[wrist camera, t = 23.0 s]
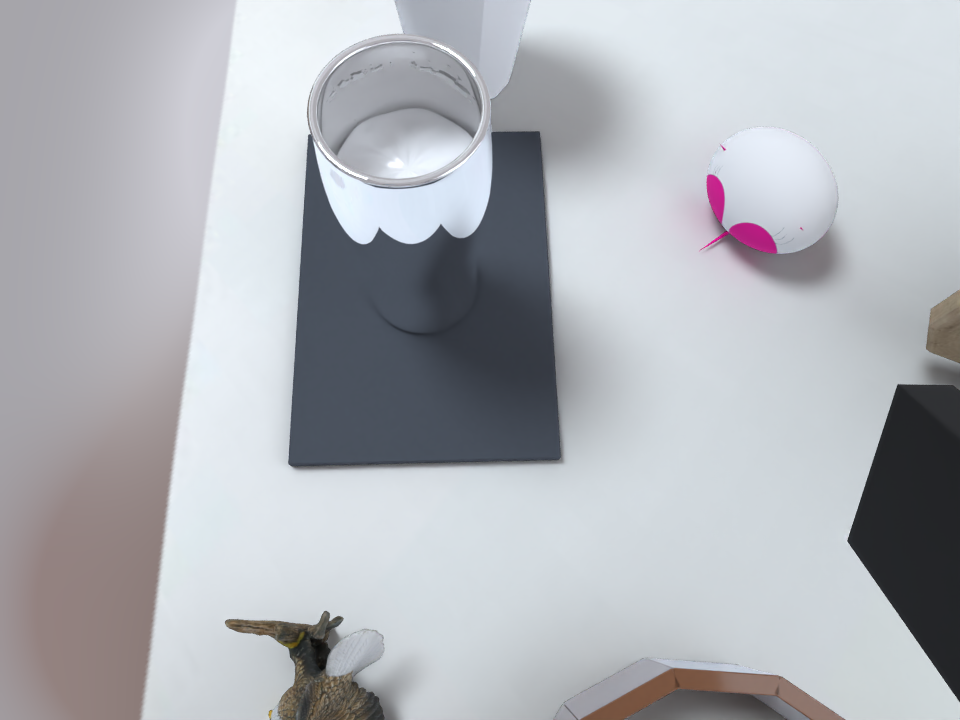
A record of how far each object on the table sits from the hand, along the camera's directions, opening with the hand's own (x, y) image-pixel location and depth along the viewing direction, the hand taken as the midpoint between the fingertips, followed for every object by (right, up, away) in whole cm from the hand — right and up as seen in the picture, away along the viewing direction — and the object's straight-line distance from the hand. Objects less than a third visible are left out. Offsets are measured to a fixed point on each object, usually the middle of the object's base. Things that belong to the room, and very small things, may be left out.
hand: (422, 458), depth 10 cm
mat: (-2, +6, +30) cm, 30 cm away
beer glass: (-2, +6, +29) cm, 30 cm away
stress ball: (+16, +9, +32) cm, 37 cm away
